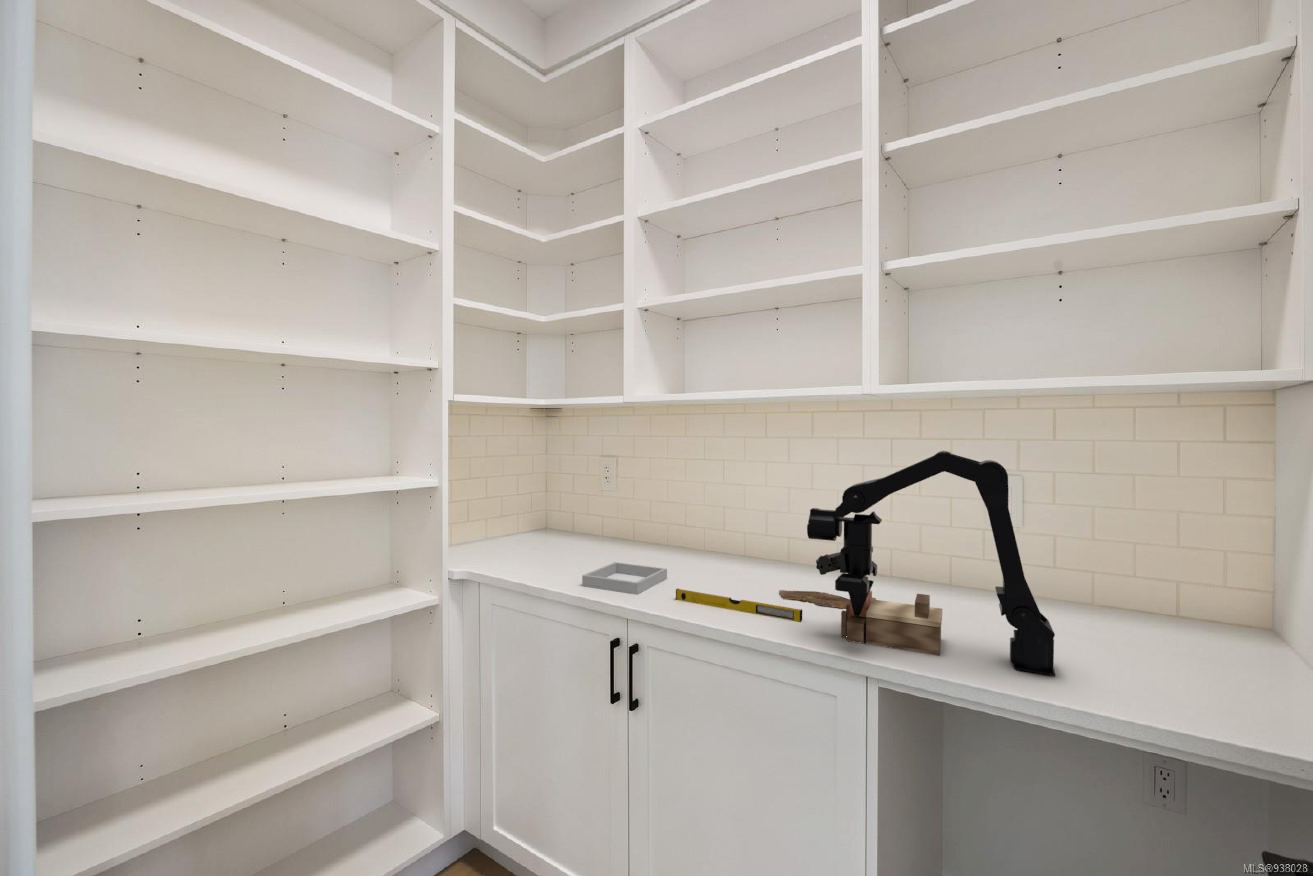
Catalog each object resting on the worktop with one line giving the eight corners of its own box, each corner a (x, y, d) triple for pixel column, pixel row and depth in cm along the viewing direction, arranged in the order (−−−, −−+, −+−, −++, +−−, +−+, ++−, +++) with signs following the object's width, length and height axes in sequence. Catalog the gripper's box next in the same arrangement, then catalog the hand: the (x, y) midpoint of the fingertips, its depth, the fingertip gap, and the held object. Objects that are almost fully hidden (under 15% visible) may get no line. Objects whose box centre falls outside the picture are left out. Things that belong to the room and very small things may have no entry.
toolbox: (942, 624, 137) (942, 600, 137) (939, 656, 118) (939, 628, 118) (855, 611, 146) (855, 589, 145) (839, 639, 127) (840, 614, 127)
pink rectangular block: (871, 605, 136) (872, 590, 136) (866, 617, 128) (866, 601, 128) (855, 603, 138) (856, 588, 138) (849, 615, 130) (849, 599, 130)
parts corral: (666, 578, 176) (666, 568, 176) (637, 594, 160) (637, 583, 160) (615, 571, 184) (615, 562, 184) (582, 585, 168) (582, 575, 168)
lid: (942, 613, 127) (942, 594, 127) (941, 627, 118) (941, 607, 118) (872, 603, 133) (872, 586, 133) (866, 616, 125) (866, 598, 124)
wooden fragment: (769, 597, 158) (769, 593, 158) (786, 588, 167) (786, 584, 167) (867, 616, 143) (867, 612, 143) (880, 605, 152) (880, 601, 152)
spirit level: (675, 600, 155) (675, 589, 155) (678, 599, 157) (678, 588, 157) (800, 623, 138) (800, 610, 138) (802, 621, 139) (802, 609, 139)
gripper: (827, 532, 139) (827, 598, 139) (810, 547, 122) (809, 622, 123) (877, 536, 134) (877, 605, 134) (866, 553, 117) (866, 631, 118)
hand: (856, 615), depth 127 cm, fingers closed
